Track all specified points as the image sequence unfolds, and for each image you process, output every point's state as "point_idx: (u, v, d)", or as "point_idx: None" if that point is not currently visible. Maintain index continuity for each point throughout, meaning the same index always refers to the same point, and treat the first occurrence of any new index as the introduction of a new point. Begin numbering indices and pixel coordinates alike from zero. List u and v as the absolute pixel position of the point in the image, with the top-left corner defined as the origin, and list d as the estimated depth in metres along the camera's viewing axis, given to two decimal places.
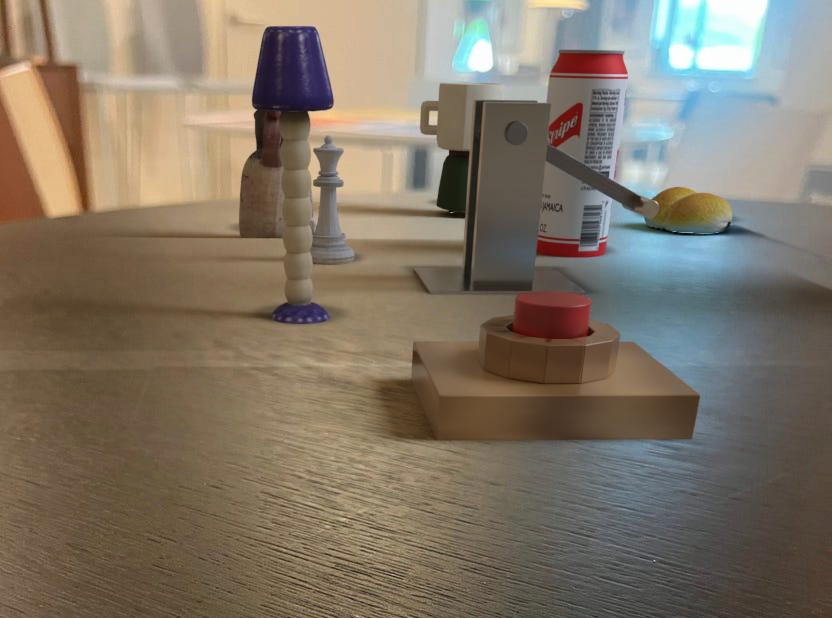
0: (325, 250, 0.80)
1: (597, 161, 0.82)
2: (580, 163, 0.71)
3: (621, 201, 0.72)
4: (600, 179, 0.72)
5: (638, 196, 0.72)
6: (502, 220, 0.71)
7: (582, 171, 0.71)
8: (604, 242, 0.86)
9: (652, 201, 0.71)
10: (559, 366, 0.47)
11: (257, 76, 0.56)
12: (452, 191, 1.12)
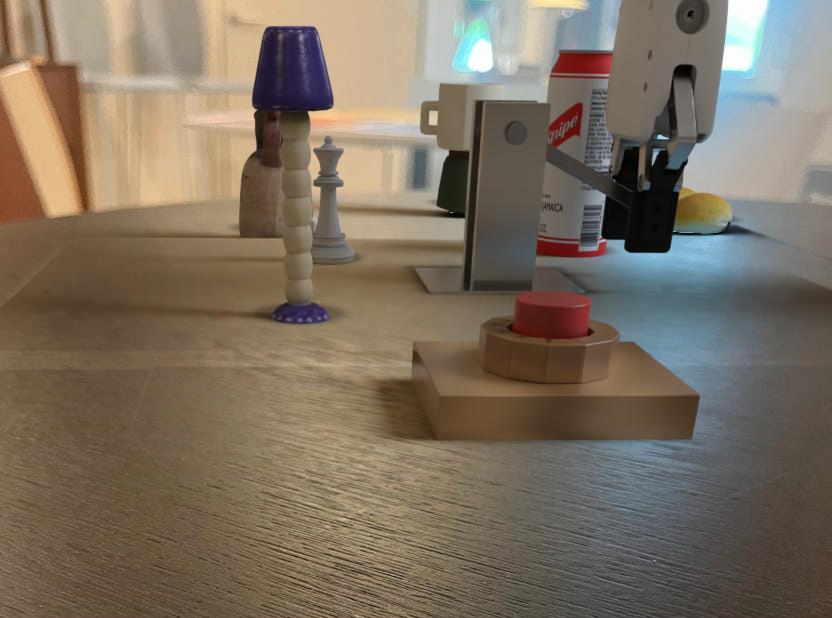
0: (325, 250, 0.80)
1: (597, 161, 0.82)
2: (580, 163, 0.71)
3: (621, 201, 0.72)
4: (600, 179, 0.72)
5: None
6: (502, 220, 0.71)
7: (582, 171, 0.71)
8: (604, 242, 0.86)
9: None
10: (559, 366, 0.47)
11: (257, 76, 0.56)
12: (452, 191, 1.12)
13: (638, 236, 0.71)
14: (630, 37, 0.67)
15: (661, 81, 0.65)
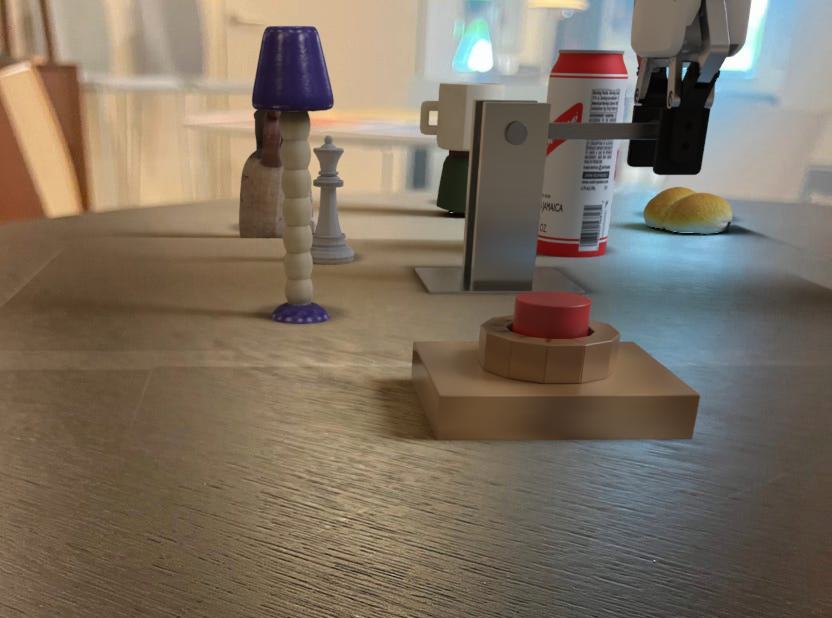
0: (325, 250, 0.80)
1: (597, 161, 0.82)
2: (589, 124, 0.70)
3: (645, 137, 0.71)
4: (615, 128, 0.70)
5: None
6: (502, 220, 0.71)
7: (594, 130, 0.70)
8: (604, 242, 0.86)
9: None
10: (559, 366, 0.47)
11: (257, 76, 0.56)
12: (452, 191, 1.12)
13: (667, 157, 0.69)
14: None
15: None
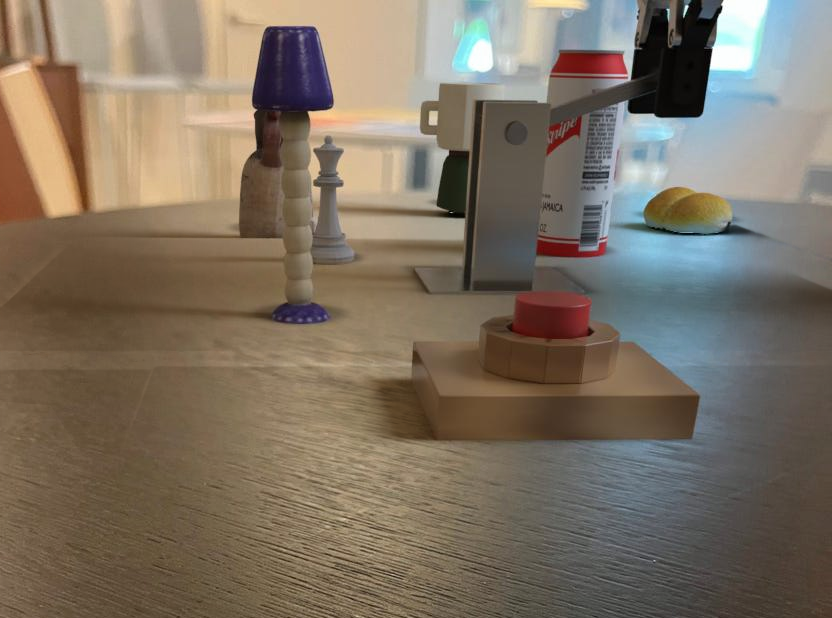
0: (325, 250, 0.80)
1: (597, 161, 0.82)
2: (587, 98, 0.69)
3: (647, 92, 0.69)
4: (614, 93, 0.69)
5: None
6: (502, 220, 0.71)
7: (594, 102, 0.69)
8: (604, 242, 0.86)
9: None
10: (559, 366, 0.47)
11: (257, 76, 0.56)
12: (452, 191, 1.12)
13: (669, 99, 0.67)
14: None
15: None
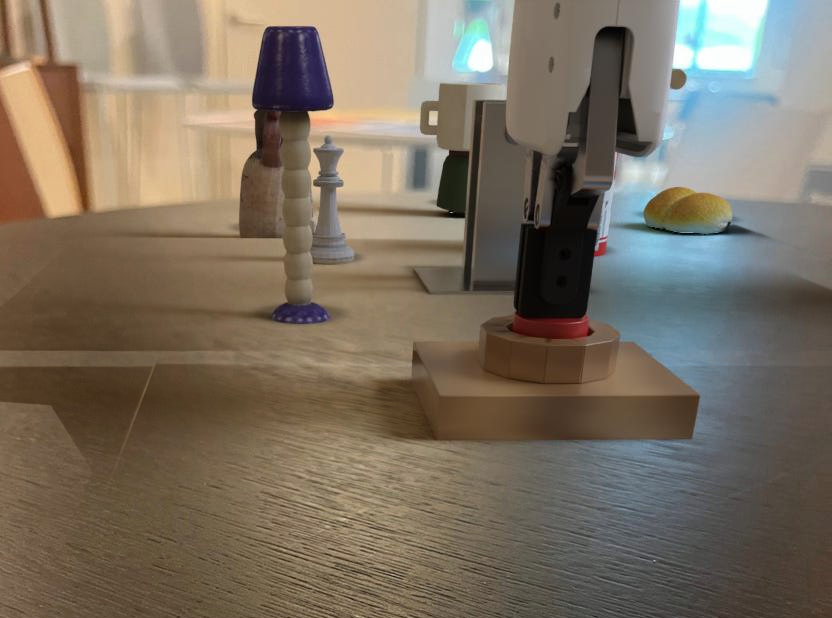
0: (325, 250, 0.80)
1: None
2: None
3: None
4: None
5: None
6: (502, 220, 0.71)
7: None
8: (604, 242, 0.86)
9: (674, 72, 0.67)
10: (559, 366, 0.47)
11: (257, 76, 0.56)
12: (452, 191, 1.12)
13: (538, 294, 0.48)
14: None
15: (576, 55, 0.39)
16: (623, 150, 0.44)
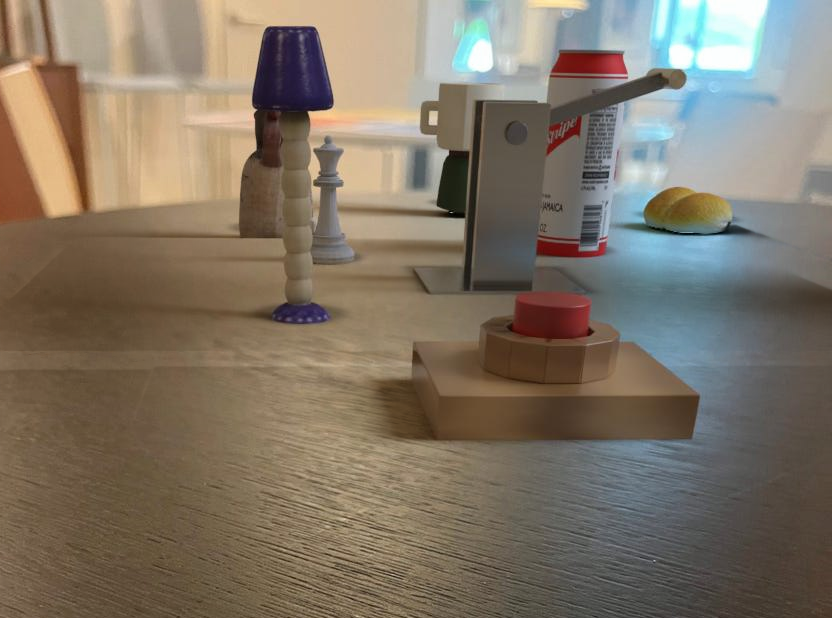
0: (325, 250, 0.80)
1: (597, 161, 0.82)
2: (587, 98, 0.69)
3: (647, 92, 0.69)
4: (614, 93, 0.69)
5: (658, 74, 0.69)
6: (502, 220, 0.71)
7: (594, 102, 0.69)
8: (604, 242, 0.86)
9: (674, 72, 0.67)
10: (559, 366, 0.47)
11: (257, 76, 0.56)
12: (452, 191, 1.12)
13: None
14: None
15: None
16: None
